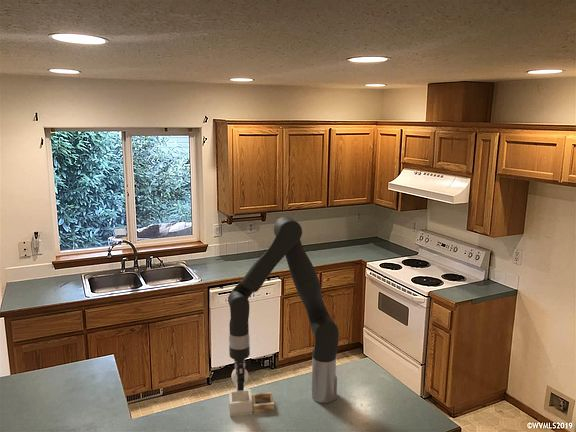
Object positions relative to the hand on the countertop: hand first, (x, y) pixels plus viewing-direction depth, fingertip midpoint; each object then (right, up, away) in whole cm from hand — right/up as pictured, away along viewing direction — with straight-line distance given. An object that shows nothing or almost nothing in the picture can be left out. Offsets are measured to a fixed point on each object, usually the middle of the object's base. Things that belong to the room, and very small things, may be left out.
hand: (240, 384), depth 173 cm
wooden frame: (+8, -9, +3) cm, 13 cm away
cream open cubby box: (0, -9, +2) cm, 10 cm away
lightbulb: (0, -4, +1) cm, 4 cm away
